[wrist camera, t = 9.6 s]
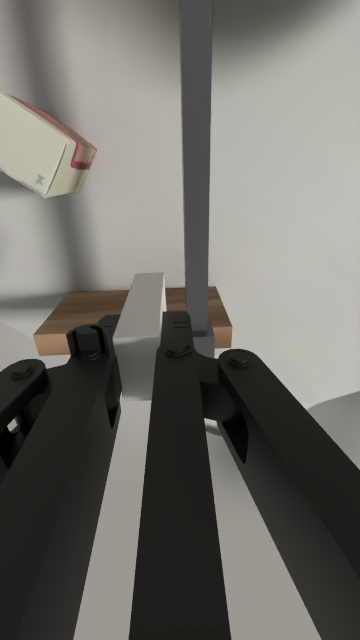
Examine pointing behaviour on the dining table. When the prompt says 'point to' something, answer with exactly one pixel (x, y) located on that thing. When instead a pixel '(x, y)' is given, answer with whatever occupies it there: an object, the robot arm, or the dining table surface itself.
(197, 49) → the tie bar
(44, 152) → the small box
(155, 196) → the dining table surface
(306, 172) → the dining table surface
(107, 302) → the rack
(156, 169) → the dining table surface
